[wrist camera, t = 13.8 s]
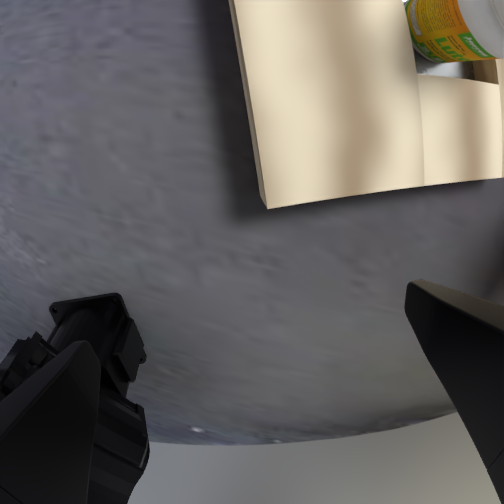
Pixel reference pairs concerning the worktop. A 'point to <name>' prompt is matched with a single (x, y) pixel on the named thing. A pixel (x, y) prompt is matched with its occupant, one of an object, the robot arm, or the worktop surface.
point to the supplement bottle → (456, 29)
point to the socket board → (359, 102)
